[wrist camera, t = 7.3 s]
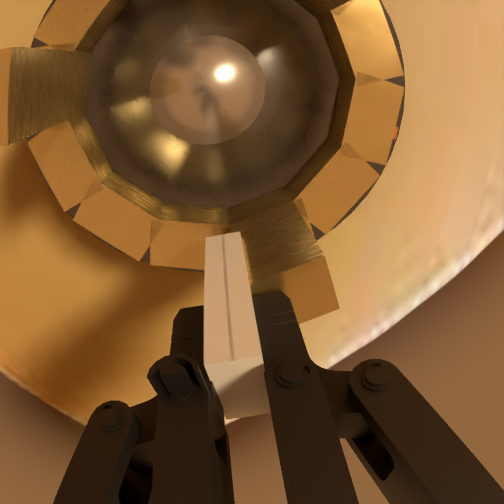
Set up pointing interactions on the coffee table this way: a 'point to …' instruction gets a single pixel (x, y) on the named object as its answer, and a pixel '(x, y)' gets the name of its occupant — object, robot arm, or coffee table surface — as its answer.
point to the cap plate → (240, 154)
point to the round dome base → (201, 217)
